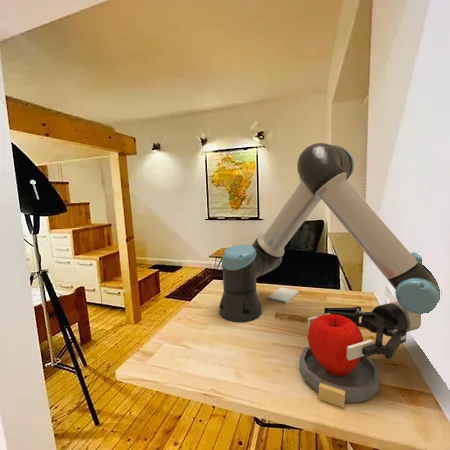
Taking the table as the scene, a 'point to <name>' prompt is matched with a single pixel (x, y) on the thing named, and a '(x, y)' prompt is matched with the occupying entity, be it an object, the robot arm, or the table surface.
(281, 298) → the hard drive
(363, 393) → the dish
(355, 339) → the apple
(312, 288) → the table surface
